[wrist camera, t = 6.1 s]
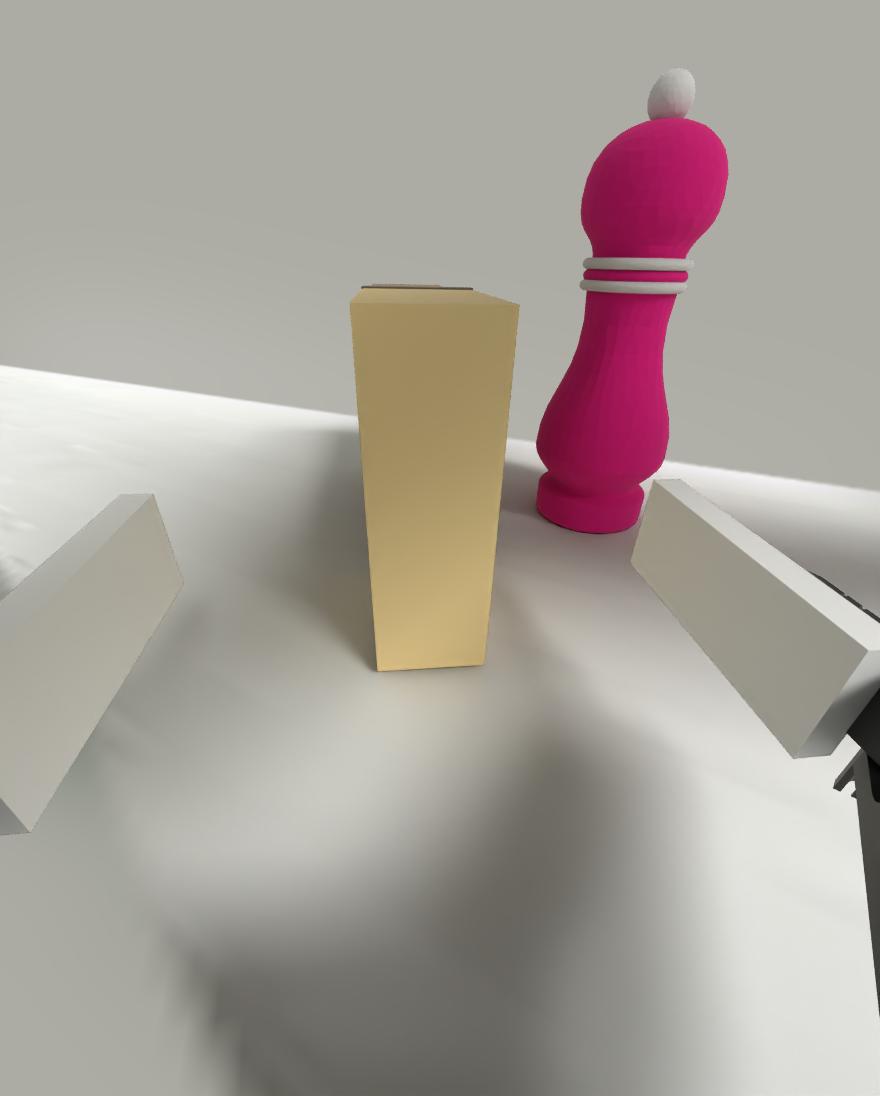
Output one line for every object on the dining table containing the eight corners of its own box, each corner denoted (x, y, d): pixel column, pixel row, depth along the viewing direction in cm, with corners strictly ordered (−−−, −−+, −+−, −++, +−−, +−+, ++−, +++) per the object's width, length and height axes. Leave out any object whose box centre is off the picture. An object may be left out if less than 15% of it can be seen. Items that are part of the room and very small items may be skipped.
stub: (485, 665, 17) (521, 302, 11) (376, 672, 17) (347, 300, 10) (457, 552, 24) (469, 287, 18) (379, 555, 24) (362, 285, 17)
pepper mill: (511, 491, 31) (555, 87, 21) (605, 482, 33) (690, 103, 22) (559, 545, 25) (656, 17, 15) (671, 531, 27) (831, 45, 16)
